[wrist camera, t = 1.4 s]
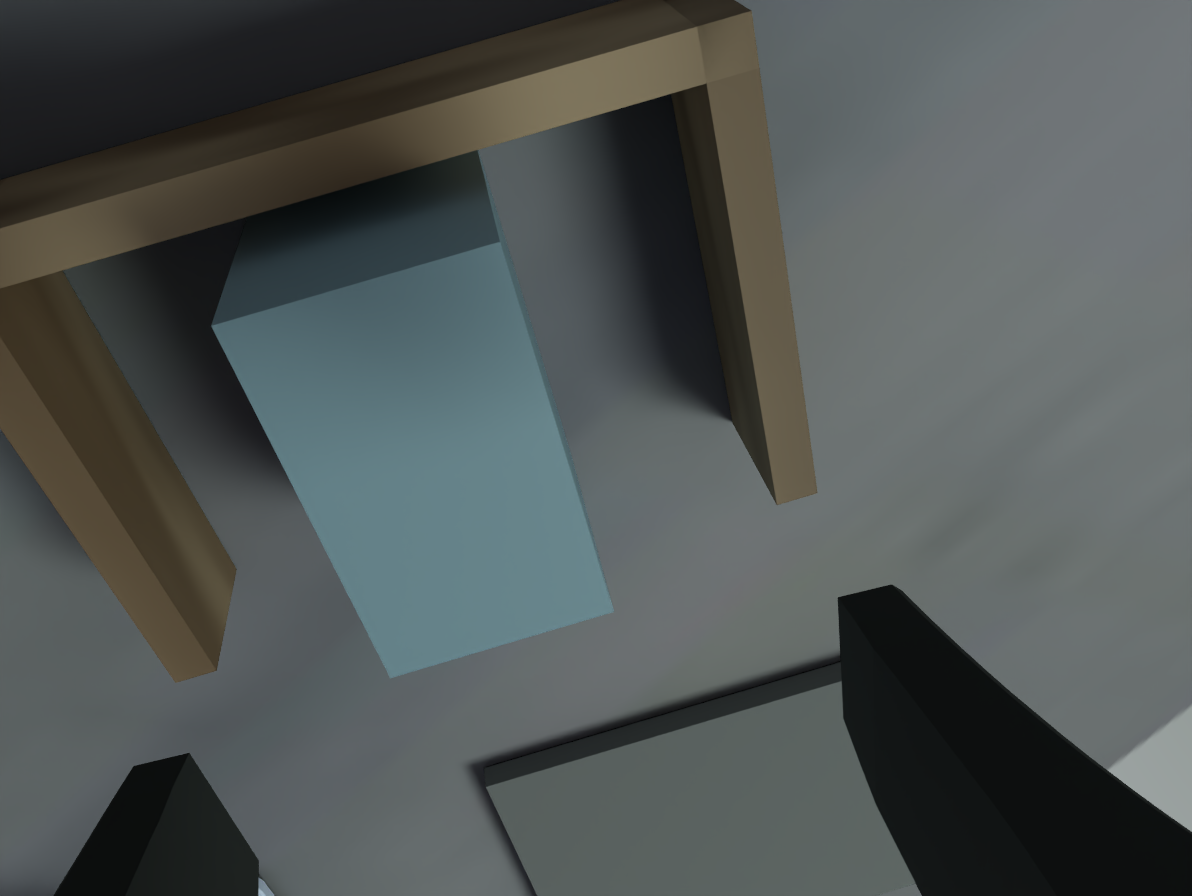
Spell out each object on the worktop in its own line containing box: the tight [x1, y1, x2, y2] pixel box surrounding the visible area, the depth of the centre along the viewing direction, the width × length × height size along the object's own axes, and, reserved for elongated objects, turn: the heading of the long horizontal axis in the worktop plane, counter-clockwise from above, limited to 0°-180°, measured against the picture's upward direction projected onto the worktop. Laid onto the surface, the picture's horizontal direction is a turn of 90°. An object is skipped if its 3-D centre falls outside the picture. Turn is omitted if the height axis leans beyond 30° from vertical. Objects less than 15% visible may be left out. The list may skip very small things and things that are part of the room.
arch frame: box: [0, 0, 817, 683], centre depth 18 cm, size 13×9×3 cm
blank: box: [211, 150, 614, 678], centre depth 18 cm, size 4×7×5 cm, turn 13°
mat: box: [484, 662, 916, 896], centre depth 29 cm, size 11×10×1 cm
